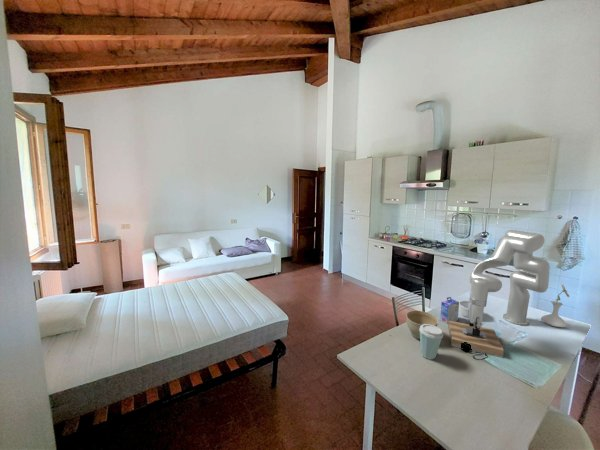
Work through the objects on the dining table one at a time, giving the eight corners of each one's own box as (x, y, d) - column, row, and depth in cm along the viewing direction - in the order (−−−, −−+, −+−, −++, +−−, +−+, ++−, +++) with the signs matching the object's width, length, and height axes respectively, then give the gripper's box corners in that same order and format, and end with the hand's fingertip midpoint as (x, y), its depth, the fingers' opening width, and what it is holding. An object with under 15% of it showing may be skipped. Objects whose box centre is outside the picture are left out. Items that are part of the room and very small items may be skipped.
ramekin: (487, 320, 162) (488, 310, 161) (465, 320, 162) (467, 310, 161) (473, 310, 175) (474, 300, 174) (453, 310, 175) (454, 300, 174)
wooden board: (448, 326, 155) (448, 320, 154) (492, 336, 146) (493, 329, 145) (451, 345, 137) (452, 338, 136) (502, 357, 128) (503, 350, 127)
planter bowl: (398, 330, 151) (400, 312, 149) (421, 325, 156) (422, 308, 154) (419, 346, 136) (420, 327, 134) (443, 341, 141) (445, 322, 139)
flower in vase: (561, 331, 151) (569, 290, 147) (537, 321, 161) (543, 283, 157) (570, 325, 157) (578, 286, 153) (546, 317, 167) (553, 280, 163)
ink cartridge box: (449, 316, 167) (452, 295, 165) (458, 320, 162) (460, 298, 160) (439, 319, 163) (441, 297, 161) (447, 324, 158) (449, 301, 156)
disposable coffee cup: (421, 346, 137) (424, 319, 134) (444, 355, 129) (447, 328, 126) (413, 355, 129) (415, 327, 127) (436, 366, 122) (439, 337, 119)
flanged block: (461, 335, 146) (462, 326, 145) (483, 339, 141) (484, 331, 141) (462, 339, 141) (463, 331, 140) (485, 345, 137) (486, 336, 136)
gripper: (467, 293, 147) (463, 321, 150) (472, 306, 131) (468, 337, 134) (483, 296, 144) (479, 324, 147) (490, 310, 128) (485, 341, 131)
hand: (474, 330), depth 140 cm, fingers open, 9 cm apart
